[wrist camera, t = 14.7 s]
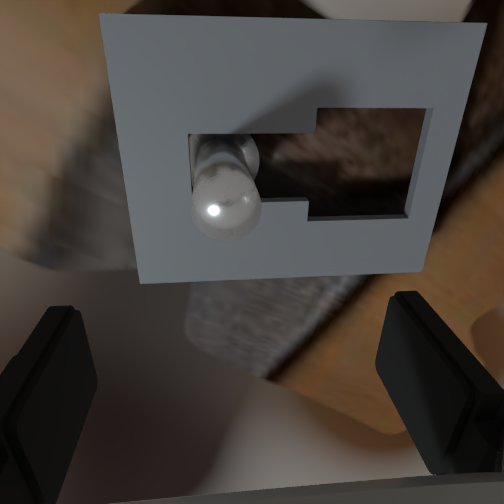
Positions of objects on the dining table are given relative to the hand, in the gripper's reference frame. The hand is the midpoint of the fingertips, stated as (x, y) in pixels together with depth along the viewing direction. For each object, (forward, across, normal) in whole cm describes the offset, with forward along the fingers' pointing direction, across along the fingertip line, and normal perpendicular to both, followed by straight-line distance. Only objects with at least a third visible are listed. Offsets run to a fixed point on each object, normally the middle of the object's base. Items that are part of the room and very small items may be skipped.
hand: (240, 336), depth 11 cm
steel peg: (+24, 0, 0) cm, 24 cm away
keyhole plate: (+24, -5, 0) cm, 24 cm away
